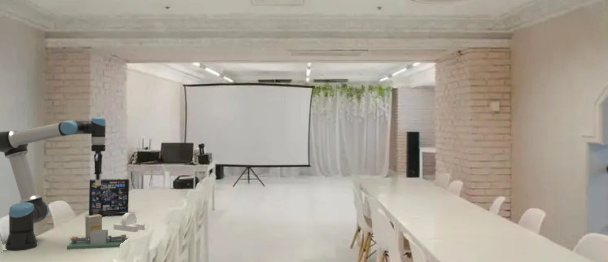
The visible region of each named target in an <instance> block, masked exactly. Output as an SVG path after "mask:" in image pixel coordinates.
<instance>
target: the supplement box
mask: <svg viewBox="0 0 608 262" xmlns="http://www.w3.org/2000/svg"><path fill="white" fill-rule="evenodd" d="M84 218H85V219H84V220H85V223H84V224H85V228H84V229H85V234H84V235H85V237H84V238H89V237H90V233H91V232H92V231H93V230H103V217H102V215H99V214H97V215H91V216H89V215H85V216H84Z"/></svg>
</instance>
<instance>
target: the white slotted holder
mask: <svg viewBox="0 0 608 262" xmlns="http://www.w3.org/2000/svg"><path fill="white" fill-rule="evenodd" d="M137 219H138V218H137V215H136V213H133V212H128V213H125V214H124V215H123V216H121V222H120V221H119V222H120V223H113V230H114V231H115V230H116V231H122V232H123V231H124V232H132V233H136V232H139V231H144V230H145V228H146V227H145V226H146V225H145V223H140V222H137Z"/></svg>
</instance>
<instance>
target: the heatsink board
mask: <svg viewBox="0 0 608 262" xmlns="http://www.w3.org/2000/svg"><path fill="white" fill-rule="evenodd" d="M108 234H109V229H102V230H93V231H92V232H91V233H90V239H87V240H86V241H71V242H69V244H68V245H67V246H66V250H79V249H80V250H81V249H86V248H87V249H103V248H104V249H105V248H107V249H109V248H120V247H119V246H120V244H121V243H123V242H124V241H125V240H127V239H128V238H129V237H126V238H125V239H116V240H110V239H107V238H108V237H109V236H110V237H112V235H108Z"/></svg>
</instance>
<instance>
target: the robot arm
mask: <svg viewBox="0 0 608 262" xmlns="http://www.w3.org/2000/svg"><path fill="white" fill-rule="evenodd" d="M106 126H107V125H106V118H104V117H91V120H71V119H70V120H65V121H63V122H56V123H51V124H49V125H43V126H38V127H34V128H33V127H32V128H29V129H22V130H8V131H0V152H1V153H3V154H4V157H5V158H7V159H8V160H9V162H10V166H11V170H12V173H13V176H14V179H15V183H16V187H17V190H18V193H19V196H20V201H19V203H15V204H12V205H10V207H9V212H8V215H9V216H8V223H9V226H8V229H9V230H8V231H9V232H8V233H9V234H8V236H7V239H6V242H5V249H6V250H8V251H22V250H28V249H33V248H36V247H37V246H38V240H37V236H36V235H35V231H34V226H35V225H34V224H36V223H40V222H42V221H43V220H44V219H46V218H47V216H48V215H49V212H50V208H49V205H48V203H46V202H45V201H44V199H43V198H42V196H41V195H39V194H38V190H37V187H36V183H35V180H34V177H33V174H32V170H31V168H30V164H29V161H28V157H27V154H28V152H29V151H28V146H29V144H33V143H36V142H41V141H42V142H43V141H47V140H52V139H54V138H55V139H56V138H61V137H66V136H71V135H83V134H84V135H90V136H91V137H90V139H91V140H90V143H91V146H90V151H91V152H95V153H94V155H93V160H94V161H93V163H94V173H93V174H94V175H95V176H94V177H95V178H94V179H95V186H97V185H101V179H102V174H103V172H102V165H103V154H102V152H106V145H105V144H106V141H107V138H106Z"/></svg>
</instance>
